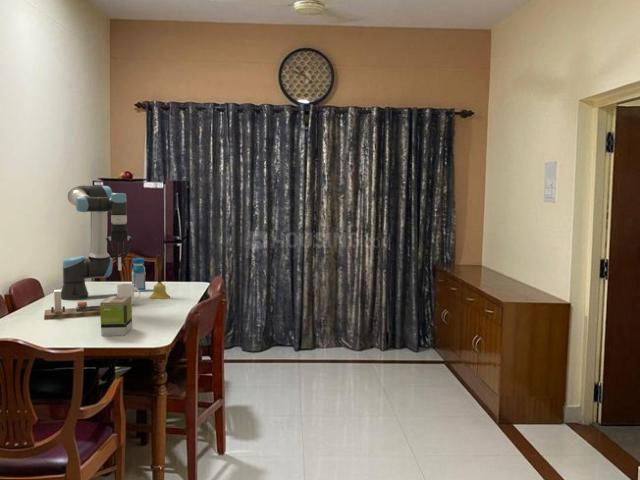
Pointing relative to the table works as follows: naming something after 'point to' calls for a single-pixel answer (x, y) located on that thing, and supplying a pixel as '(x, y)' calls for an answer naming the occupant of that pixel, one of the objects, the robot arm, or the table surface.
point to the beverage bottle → (138, 274)
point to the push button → (82, 304)
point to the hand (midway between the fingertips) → (119, 270)
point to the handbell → (159, 283)
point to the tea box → (116, 315)
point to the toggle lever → (57, 299)
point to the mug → (127, 291)
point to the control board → (72, 312)
